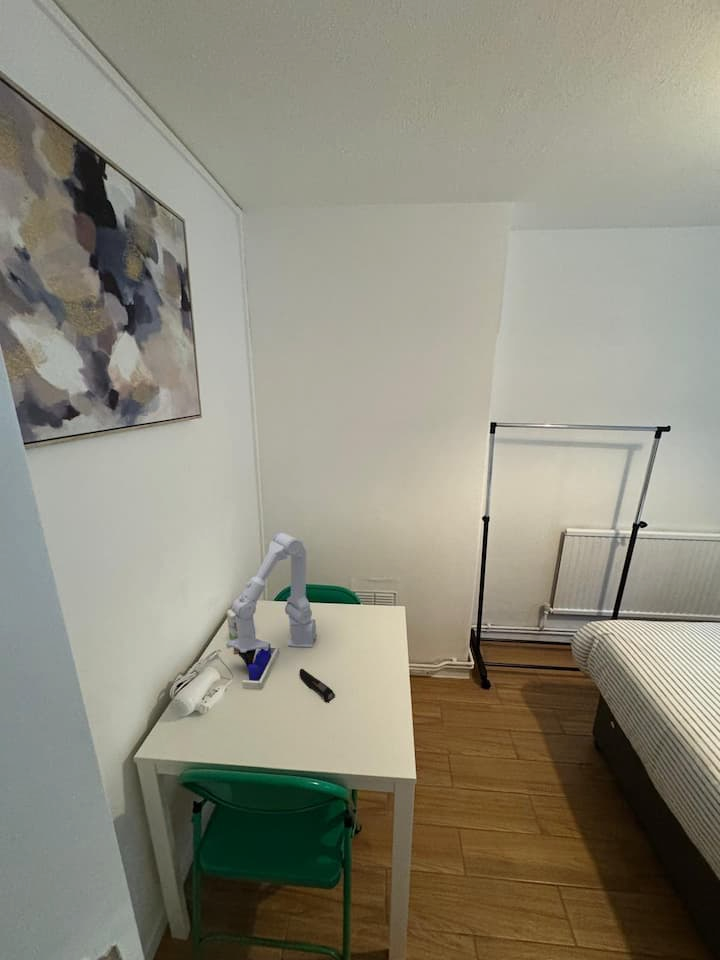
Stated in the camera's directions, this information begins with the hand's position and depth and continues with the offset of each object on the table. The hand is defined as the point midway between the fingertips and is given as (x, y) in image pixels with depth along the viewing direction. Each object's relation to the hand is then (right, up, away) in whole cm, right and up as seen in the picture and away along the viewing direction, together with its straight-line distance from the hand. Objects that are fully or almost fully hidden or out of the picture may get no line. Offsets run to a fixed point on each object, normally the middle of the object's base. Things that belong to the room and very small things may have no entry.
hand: (250, 665), depth 130 cm
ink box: (-8, +3, +18) cm, 20 cm away
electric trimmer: (+24, -3, -9) cm, 26 cm away
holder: (+4, -1, 0) cm, 5 cm away
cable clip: (+3, -1, 0) cm, 3 cm away
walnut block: (-6, +1, +10) cm, 12 cm away
